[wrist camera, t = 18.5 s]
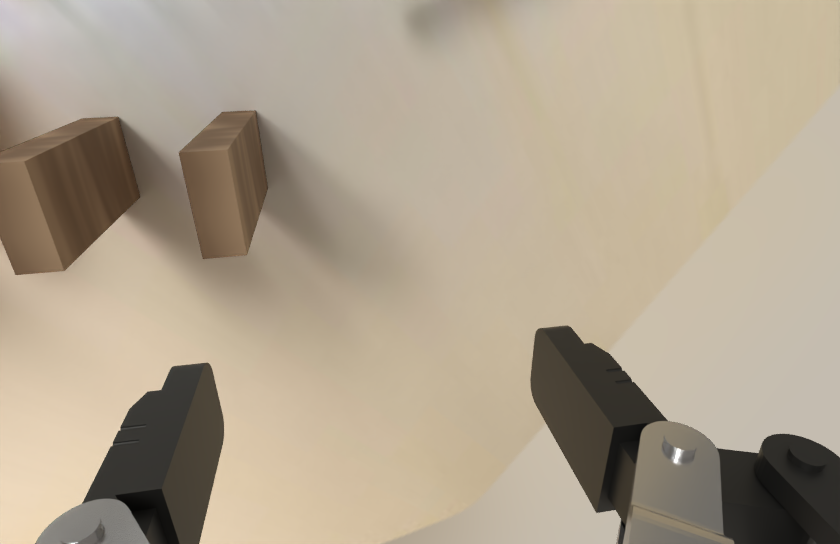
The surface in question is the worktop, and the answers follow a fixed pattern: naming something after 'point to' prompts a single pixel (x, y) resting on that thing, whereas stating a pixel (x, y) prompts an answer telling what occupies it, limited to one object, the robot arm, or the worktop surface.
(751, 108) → the worktop surface
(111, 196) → the domino
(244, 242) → the domino
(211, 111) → the worktop surface
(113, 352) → the worktop surface
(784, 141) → the worktop surface
